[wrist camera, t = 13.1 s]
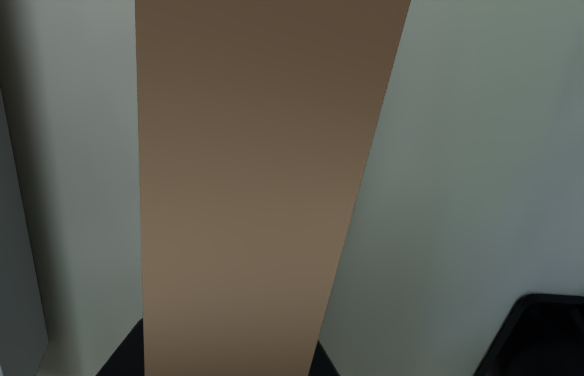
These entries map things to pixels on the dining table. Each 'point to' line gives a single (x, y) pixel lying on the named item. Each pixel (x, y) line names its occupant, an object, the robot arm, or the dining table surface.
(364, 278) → the dining table surface
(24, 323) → the platform
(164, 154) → the scraper bar
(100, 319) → the dining table surface
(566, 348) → the robot arm
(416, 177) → the dining table surface
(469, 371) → the dining table surface
